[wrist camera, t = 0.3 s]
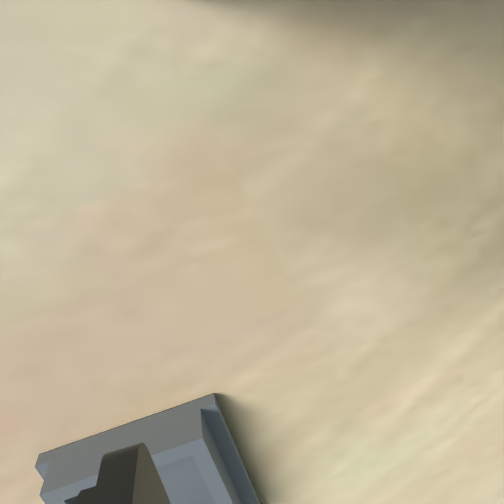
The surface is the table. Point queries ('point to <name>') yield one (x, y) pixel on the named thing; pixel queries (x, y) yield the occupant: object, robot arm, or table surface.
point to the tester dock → (159, 457)
